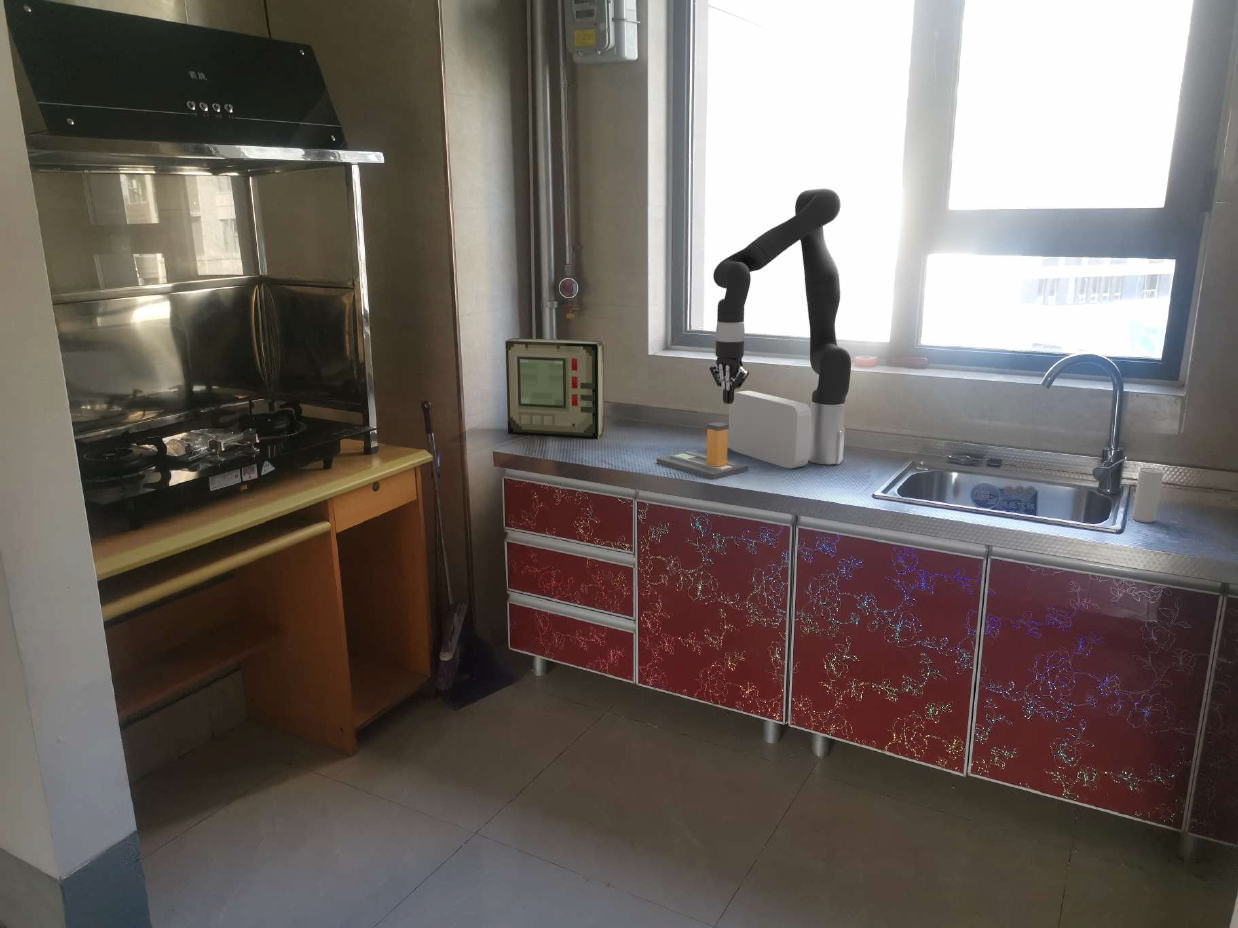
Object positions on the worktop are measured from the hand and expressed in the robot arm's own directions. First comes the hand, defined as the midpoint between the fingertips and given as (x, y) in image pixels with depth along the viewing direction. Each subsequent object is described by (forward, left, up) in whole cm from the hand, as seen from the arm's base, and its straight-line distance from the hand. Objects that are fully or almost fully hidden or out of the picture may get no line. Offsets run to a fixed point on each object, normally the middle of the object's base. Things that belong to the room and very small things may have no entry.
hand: (728, 403), depth 245 cm
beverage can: (-101, -1, -20) cm, 103 cm away
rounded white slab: (-6, -20, -20) cm, 28 cm away
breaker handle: (+3, 0, -17) cm, 17 cm away
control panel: (+64, -22, -20) cm, 70 cm away
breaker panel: (+8, -3, -19) cm, 21 cm away
